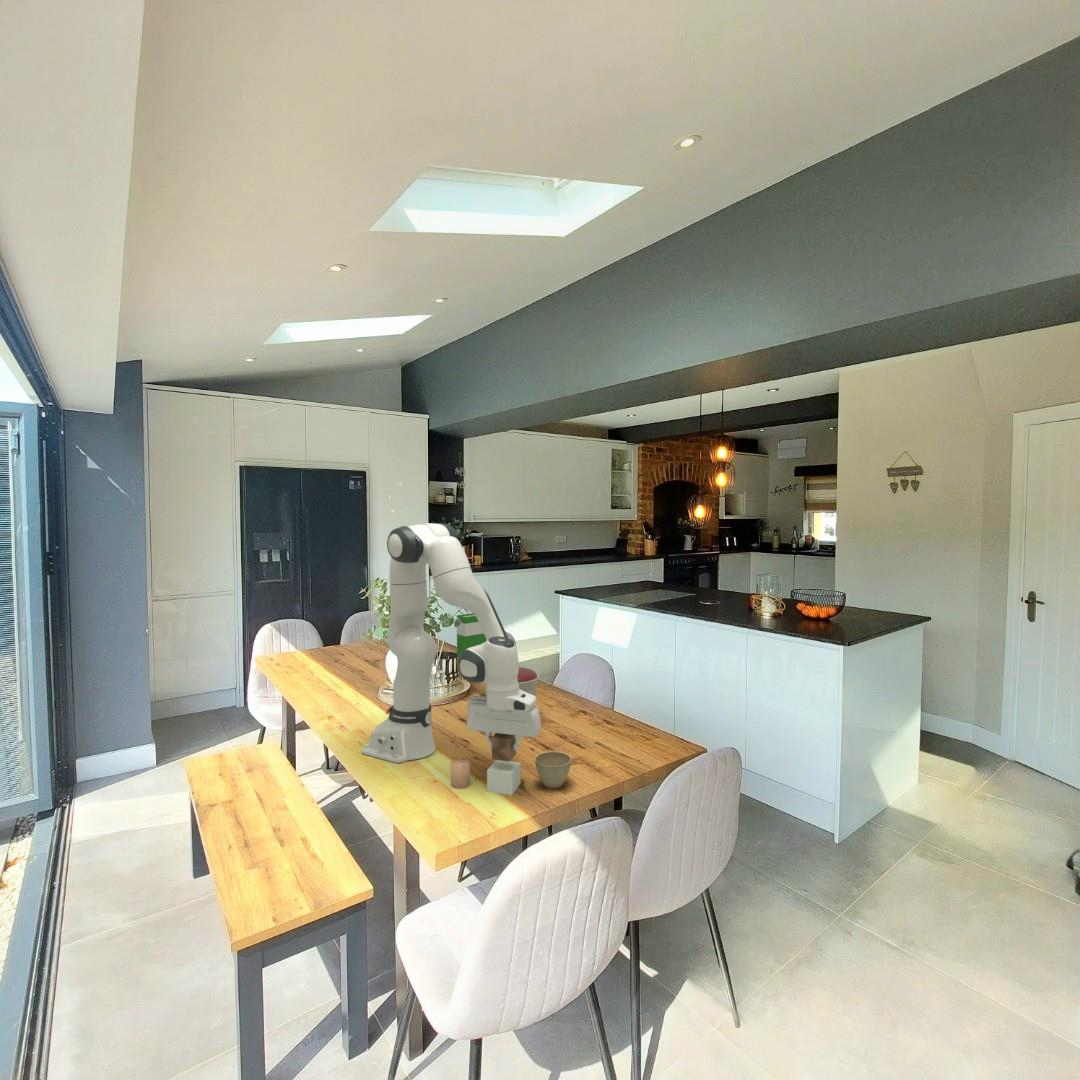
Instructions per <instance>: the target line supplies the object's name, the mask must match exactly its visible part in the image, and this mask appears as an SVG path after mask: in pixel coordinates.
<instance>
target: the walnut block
mask: <svg viewBox="0 0 1080 1080" xmlns="http://www.w3.org/2000/svg"><path fill="white" fill-rule="evenodd" d="M516 740H517V739H515V735H509V734H500V733H494V734H493V735H492V748H491V759H492V760H493V761H494V760H495V761H496V760H501V761H509V762H510V761H511V762H512V760H513V759H514V757H515V756H516V755H517V751H513V750H512V747H511V744H512V743H513V742H516Z"/></svg>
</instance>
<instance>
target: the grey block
mask: <svg viewBox="0 0 1080 1080" xmlns="http://www.w3.org/2000/svg"><path fill="white" fill-rule="evenodd" d="M521 764H522V763H521V762H518V761H512V760H511V761H510V762H509V761H501V760H495V761H494V762H493V763H492V764H491V765H490V766H489V767H488V769H487V770H486V778H487V779H486V790H487V791H486V792H488V793H494V794H500V795H507V796H513V795H514V793H515V792H516V791H517V789H518V788H519V786H521V781H522V780H521V779H522V777H521V775H522V774H521V773H522V772H521V770H522V769H521V766H522V765H521Z"/></svg>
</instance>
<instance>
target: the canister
mask: <svg viewBox="0 0 1080 1080" xmlns="http://www.w3.org/2000/svg"><path fill="white" fill-rule="evenodd" d="M539 678H540V674H539V673H538V672H536V671H535V670H533V669H530V668H528V667H520V666H519V672H518V676H517V680H518V684H519V689H520V690H522V691H524V692H527V693H529V694H531V695H534V696H535V697H536V696H537V695H536V694H537V687H538V679H539ZM536 698H537V697H536Z"/></svg>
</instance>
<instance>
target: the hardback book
mask: <svg viewBox="0 0 1080 1080" xmlns="http://www.w3.org/2000/svg"><path fill="white" fill-rule="evenodd" d="M459 617H461V623H460V625H459V626H457V625H456V657H457V656H458V658H459V656H460V654H461V652H462V651H463V650H466V649H468V648H470V647H474V646H477V645H480V644H483V643H484V642H486V641H487V639H486V637H485V635H484V632H483V630H482V628H481V626H480V623H479V621H478V619H477V617H476V616H475V615H474V614H473V613H472V612H470V613H464V614H457V615H456V619H457V618H459Z"/></svg>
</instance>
